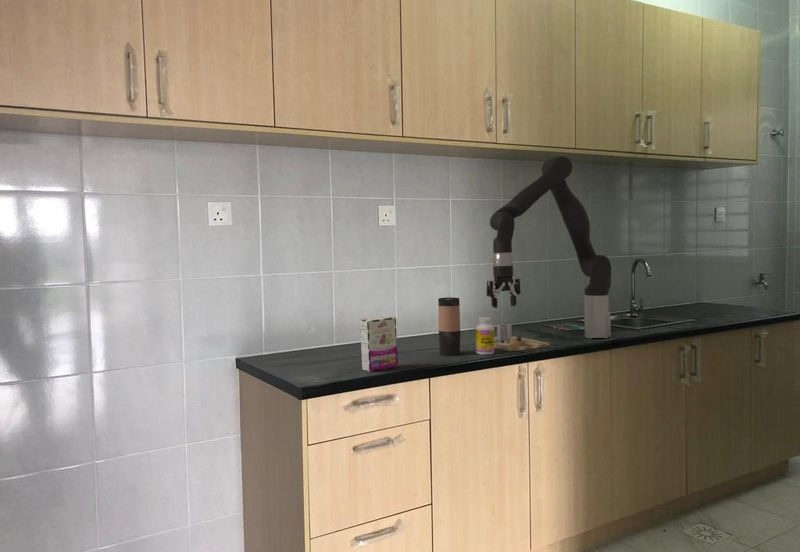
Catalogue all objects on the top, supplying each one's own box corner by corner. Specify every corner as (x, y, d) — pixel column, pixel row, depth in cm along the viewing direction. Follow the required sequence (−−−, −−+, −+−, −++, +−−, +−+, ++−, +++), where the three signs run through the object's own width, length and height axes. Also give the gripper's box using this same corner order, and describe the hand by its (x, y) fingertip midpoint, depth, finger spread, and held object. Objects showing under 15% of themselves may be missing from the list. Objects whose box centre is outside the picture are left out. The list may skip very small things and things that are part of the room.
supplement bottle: (479, 355, 224) (478, 319, 223) (473, 352, 230) (472, 317, 229) (497, 354, 225) (496, 318, 224) (490, 351, 231) (490, 316, 231)
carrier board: (514, 339, 258) (514, 324, 257) (549, 346, 239) (549, 331, 239) (477, 343, 249) (477, 328, 249) (510, 351, 231) (510, 335, 230)
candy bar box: (389, 365, 211) (388, 315, 210) (398, 367, 207) (397, 317, 206) (360, 370, 204) (359, 318, 203) (369, 372, 200) (367, 320, 199)
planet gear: (507, 338, 252) (507, 322, 252) (523, 341, 243) (522, 325, 243) (486, 340, 248) (486, 324, 247) (501, 344, 239) (501, 327, 238)
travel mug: (464, 353, 229) (463, 297, 228) (454, 356, 223) (452, 299, 221) (446, 351, 233) (444, 297, 232) (435, 355, 227) (434, 299, 226)
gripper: (512, 263, 250) (513, 304, 251) (481, 265, 244) (483, 307, 245) (524, 263, 244) (525, 306, 245) (493, 265, 237) (494, 309, 238)
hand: (504, 306), depth 245 cm, fingers open, 8 cm apart
